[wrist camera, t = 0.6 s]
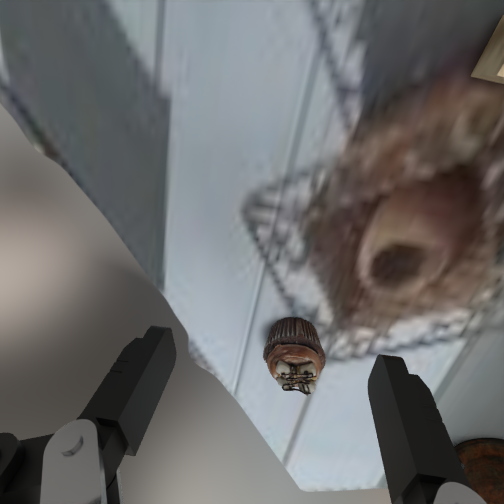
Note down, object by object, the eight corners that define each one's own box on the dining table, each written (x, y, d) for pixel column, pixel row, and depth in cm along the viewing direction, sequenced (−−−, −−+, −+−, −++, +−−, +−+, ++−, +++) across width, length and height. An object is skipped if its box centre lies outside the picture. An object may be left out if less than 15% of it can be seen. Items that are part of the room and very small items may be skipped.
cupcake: (260, 315, 46) (251, 367, 38) (319, 310, 44) (324, 365, 35) (271, 353, 51) (266, 407, 42) (326, 351, 48) (331, 408, 40)
